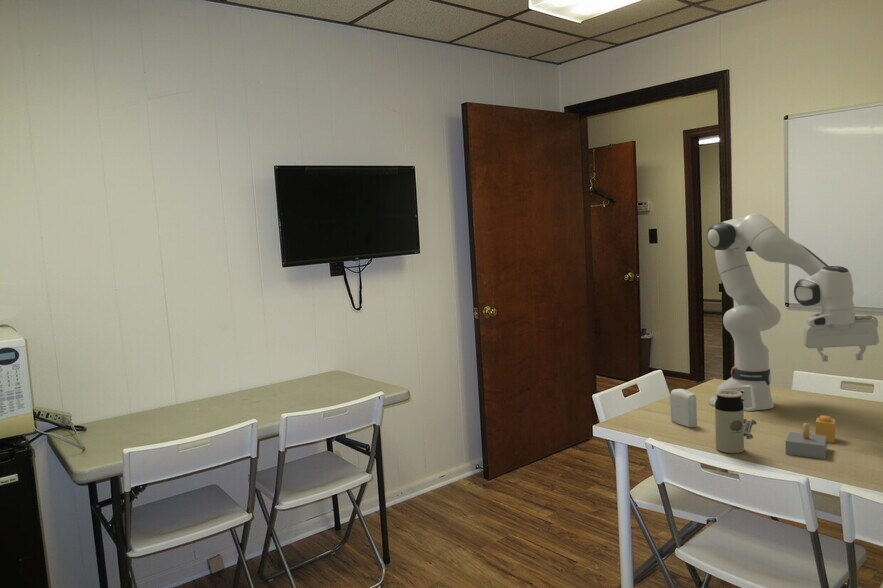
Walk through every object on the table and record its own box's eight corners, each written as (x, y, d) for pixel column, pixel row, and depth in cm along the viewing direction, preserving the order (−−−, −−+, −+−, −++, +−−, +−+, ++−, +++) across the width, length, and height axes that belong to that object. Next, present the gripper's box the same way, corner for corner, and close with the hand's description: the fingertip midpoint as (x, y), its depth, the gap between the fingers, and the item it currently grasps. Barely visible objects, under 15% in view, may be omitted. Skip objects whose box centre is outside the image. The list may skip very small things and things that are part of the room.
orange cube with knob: (815, 440, 201) (815, 418, 201) (816, 436, 206) (816, 413, 205) (834, 443, 199) (834, 419, 198) (835, 438, 203) (835, 415, 202)
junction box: (785, 453, 192) (785, 426, 191) (789, 444, 200) (789, 417, 199) (824, 459, 186) (824, 430, 185) (826, 448, 194) (826, 421, 193)
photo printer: (669, 421, 230) (668, 387, 229) (678, 419, 231) (677, 385, 230) (689, 428, 220) (688, 393, 219) (699, 426, 222) (698, 391, 221)
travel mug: (712, 445, 202) (711, 390, 201) (738, 445, 201) (737, 389, 200) (720, 454, 194) (719, 396, 193) (748, 453, 193) (747, 395, 192)
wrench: (752, 440, 206) (757, 423, 223) (751, 435, 206) (756, 418, 223) (735, 439, 209) (741, 423, 226) (735, 434, 209) (741, 418, 226)
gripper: (874, 313, 201) (877, 356, 202) (800, 318, 208) (804, 360, 209) (880, 316, 195) (883, 360, 196) (804, 321, 202) (808, 363, 203)
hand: (842, 360), depth 202 cm, fingers open, 8 cm apart
